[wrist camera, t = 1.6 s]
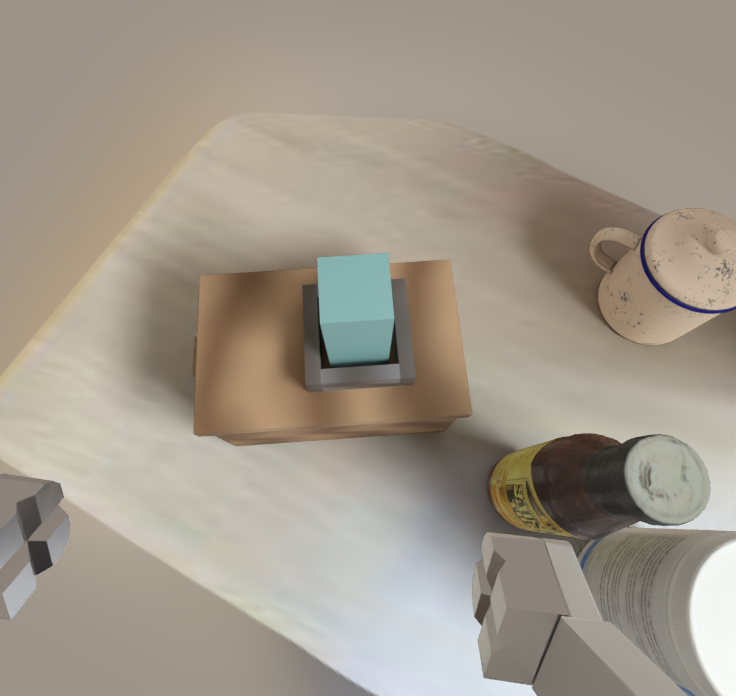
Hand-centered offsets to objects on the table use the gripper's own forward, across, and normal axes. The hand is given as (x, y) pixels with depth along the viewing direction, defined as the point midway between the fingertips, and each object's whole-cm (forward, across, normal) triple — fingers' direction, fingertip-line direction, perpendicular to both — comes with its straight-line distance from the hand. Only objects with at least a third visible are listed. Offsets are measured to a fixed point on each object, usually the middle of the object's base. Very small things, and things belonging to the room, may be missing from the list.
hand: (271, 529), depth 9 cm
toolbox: (+32, +1, +14) cm, 35 cm away
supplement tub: (+21, -24, +24) cm, 40 cm away
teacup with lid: (+39, -25, +6) cm, 47 cm away
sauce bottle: (+26, -15, +20) cm, 36 cm away
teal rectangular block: (+25, 0, +7) cm, 26 cm away
